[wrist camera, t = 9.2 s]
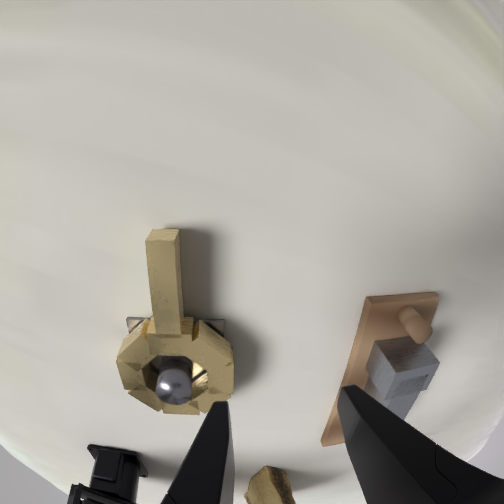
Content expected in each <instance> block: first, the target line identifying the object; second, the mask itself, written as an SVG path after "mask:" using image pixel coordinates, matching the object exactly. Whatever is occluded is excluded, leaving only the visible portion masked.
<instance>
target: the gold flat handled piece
mask: <svg viewBox="0 0 504 504" xmlns="http://www.w3.org/2000/svg"><path fill="white" fill-rule="evenodd" d="M145 243H146V255H147V266H148V276H149V285H150V294H151V302H152V310H153V316H152V317H151V320H150V321H149V320H148V319H147V318H146V319H144V320H143V321H142V322H141V323H140V324H139V325H138V326H137V327H136V328H135V329H134V330H133V331H132V332H131V333H130V334H129V335H128V336H127V337H126V338H125V339H124V340H123V343H122V345H121V348H120V350H119V353H118V356H117V360H116V363H117V367H118V370H119V373H120V377H121V380H122V383H123V386H124V389H126V390H129V391H128V394H130V395H131V396H133V397H135V398H136V399H138V400H139V401H141V402H143V403H144V404H146V405H148V406H149V407H151V408H153V409H154V410H156V411H160V410H161V409H162V410H163V413H166V414H188V415H200V411H201V412H203V413H207V412H208V411H209V410H210V408H211V406H212V404H213V402H215V401H226V400H228V399H229V398H231V394H234V362H233V349H232V347H230V342H228V341H227V340H226V339H224V338H223V337H222V336H220V335H219V334H218V333H217V332H215V331H214V330H213V329H211V328H210V327H209V326H208V325H206V324H205V323H204V322H203V321H201V320H198V321H197V322H196V323H195V324H194V318H193V317H184V312H183V299H182V284H181V266H180V244H179V229H153V230H152V231H151V233H150V234H149V236H148V237H147V239H146V240H145ZM157 355H164V356H186V357H188V358H189V359H190V360H192V361H193V362H195V363H196V364H198V365H199V366H200V367H202V368H203V369H205V370H206V371H207V373H205V374H204V375H202V376H201V377H200V378H198V379H197V380H195V381H194V382H192V391H191V399H190V400H189V401H188V402H187V403H185V404H182V405H171V404H168V403H165V402H163V401H162V400H160V399H159V398H158V396H157V395H156V386H157V381H158V376H159V375H158V374H157V373H155V372H154V371H152V370H151V369H150V366H149V362H150V361H151V360H152V359H153V358H155V357H156V356H157Z"/></svg>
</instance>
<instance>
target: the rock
mask: <svg viewBox="0 0 504 504" xmlns="http://www.w3.org/2000/svg"><path fill="white" fill-rule="evenodd" d="M244 498H245V499H246V501H247V503H248V504H296V503H295V501H294V499H293V496H292V490H291V487H290V482H289V479H288V476H287V474H286V473H285V472H283V471H281V470H279V469H277V468H273V467H268V466H264V467H263V469H262V471H260V472H259V473H258V474H256V475H255V476H254V477H252V479H251V481H250V482H249V487H248V492H247V493H246V494H245V495H244Z"/></svg>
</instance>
